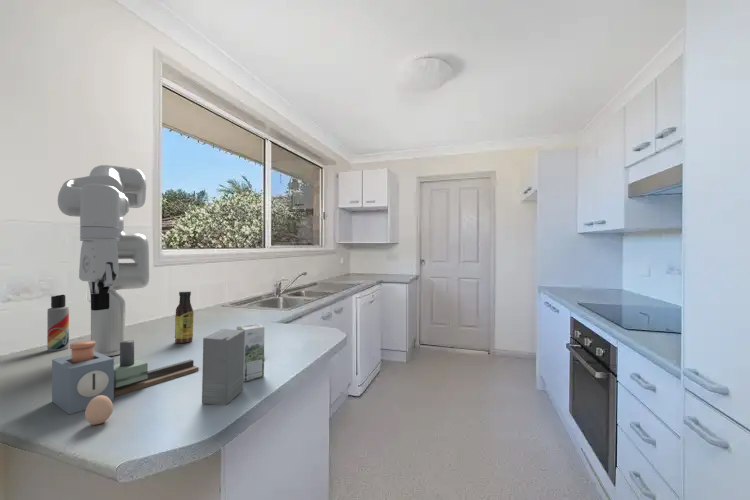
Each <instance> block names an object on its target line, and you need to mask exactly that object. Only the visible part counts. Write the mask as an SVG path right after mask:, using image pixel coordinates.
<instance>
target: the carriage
mask: <svg viewBox="0 0 750 500" xmlns="http://www.w3.org/2000/svg"><path fill="white" fill-rule="evenodd" d="M148 367H149V366H148V362H145V361H143V360H140V359H138V358H137V359H135V340H133V339H131V340H125V341H123V342H120V354H119V363H116V364H114V387H116V388H117V387H120V386H124V385H127V384H131V383H134V382H137V381H141V380H144V379H148V371H149V370H148Z"/></svg>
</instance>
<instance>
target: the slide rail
mask: <svg viewBox="0 0 750 500" xmlns="http://www.w3.org/2000/svg"><path fill="white" fill-rule="evenodd" d="M194 363H195V361H194V360H193V359H188V360H184V361H179V362H177V363H176V362H175V363H173V364H169V365H166V366H162V367H159V368H155V369H151V370H148V379H144V380H141V381H137V382H134V383H131V384H127V385H124V386H120V387H117V388H116V387H114V397H117V396H120V395H124V394H128V393H130V392H134V391H137V390H140V389H144V388H146V387H149V386H153V385H157V384H160V383H162V382H166V381H169V380H173V379H176V378H179V377H182V376H183V377H184V376H186V375H189V374H192V373H196V372H198V371H199V366H196V365H194Z"/></svg>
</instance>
